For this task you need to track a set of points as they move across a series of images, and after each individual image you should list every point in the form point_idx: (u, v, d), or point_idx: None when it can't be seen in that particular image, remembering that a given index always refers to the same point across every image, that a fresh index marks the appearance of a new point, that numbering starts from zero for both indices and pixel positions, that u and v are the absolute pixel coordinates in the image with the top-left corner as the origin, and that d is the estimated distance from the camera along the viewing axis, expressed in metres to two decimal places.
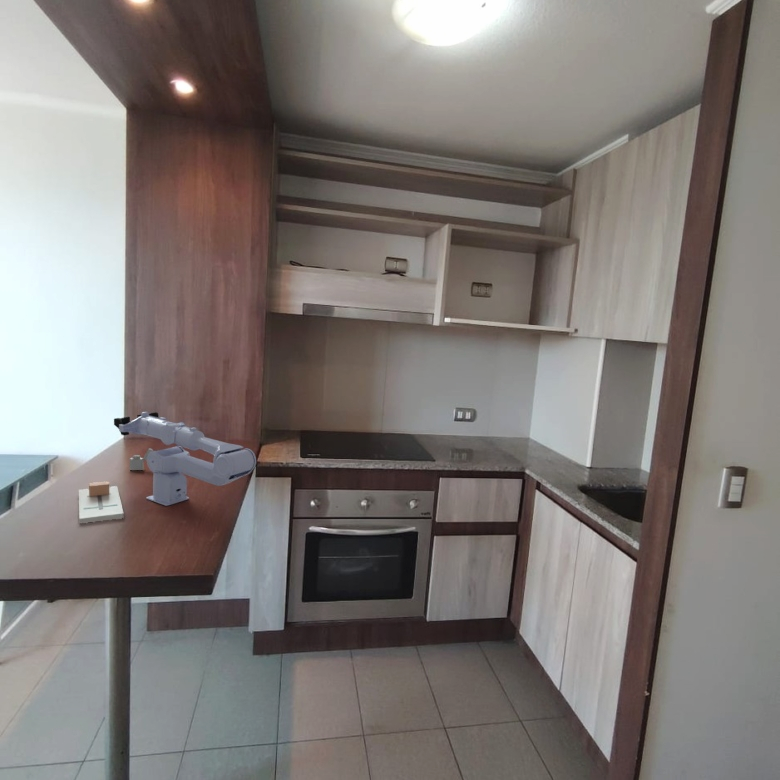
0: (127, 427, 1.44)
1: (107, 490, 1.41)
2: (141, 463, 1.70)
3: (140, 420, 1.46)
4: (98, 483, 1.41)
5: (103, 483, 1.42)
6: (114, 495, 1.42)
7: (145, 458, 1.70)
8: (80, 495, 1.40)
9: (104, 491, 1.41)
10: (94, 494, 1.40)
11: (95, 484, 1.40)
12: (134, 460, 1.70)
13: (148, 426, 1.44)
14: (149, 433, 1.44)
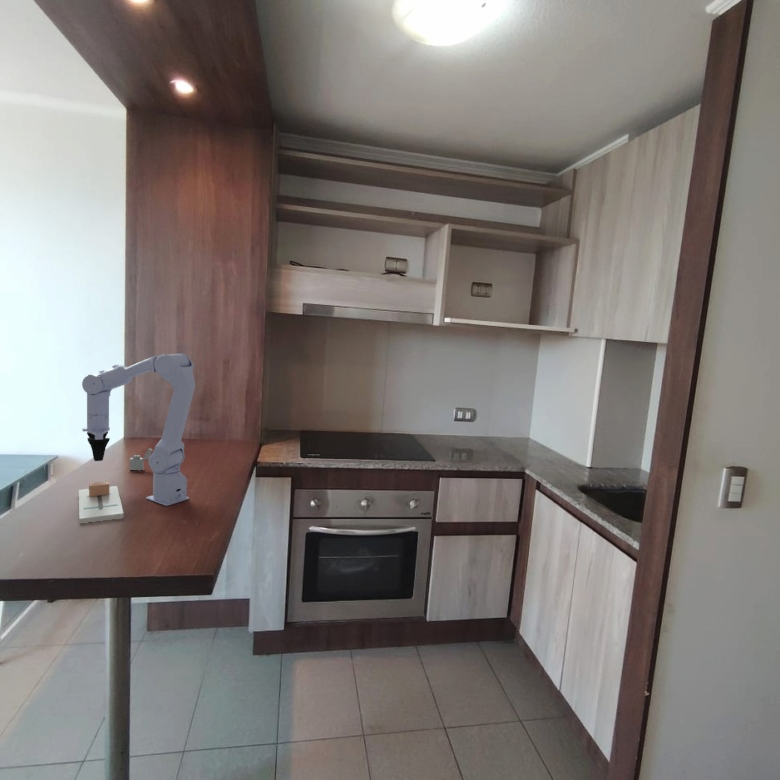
0: (98, 432, 1.42)
1: (107, 490, 1.41)
2: (141, 463, 1.70)
3: (91, 427, 1.44)
4: (98, 483, 1.41)
5: (103, 483, 1.42)
6: (114, 495, 1.42)
7: (145, 458, 1.70)
8: (80, 495, 1.40)
9: (104, 491, 1.41)
10: (94, 494, 1.40)
11: (95, 484, 1.40)
12: (134, 460, 1.70)
13: (88, 412, 1.44)
14: (95, 411, 1.44)
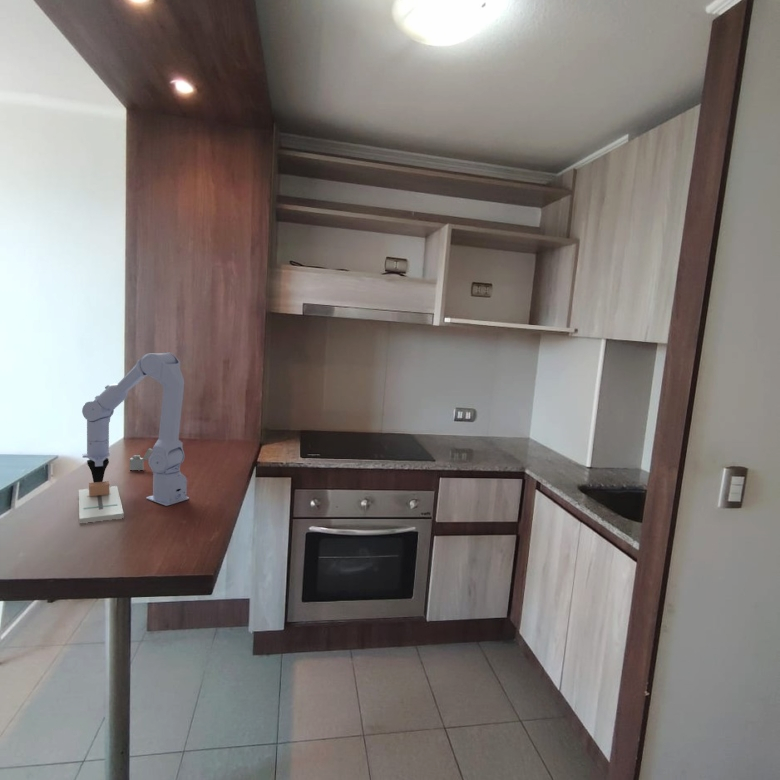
0: (98, 459, 1.43)
1: (107, 490, 1.41)
2: (141, 463, 1.70)
3: (90, 454, 1.45)
4: (98, 483, 1.41)
5: (103, 483, 1.42)
6: (114, 495, 1.42)
7: (145, 458, 1.70)
8: (80, 495, 1.40)
9: (104, 491, 1.41)
10: (94, 494, 1.40)
11: (95, 484, 1.40)
12: (134, 460, 1.70)
13: (88, 438, 1.45)
14: (95, 438, 1.45)
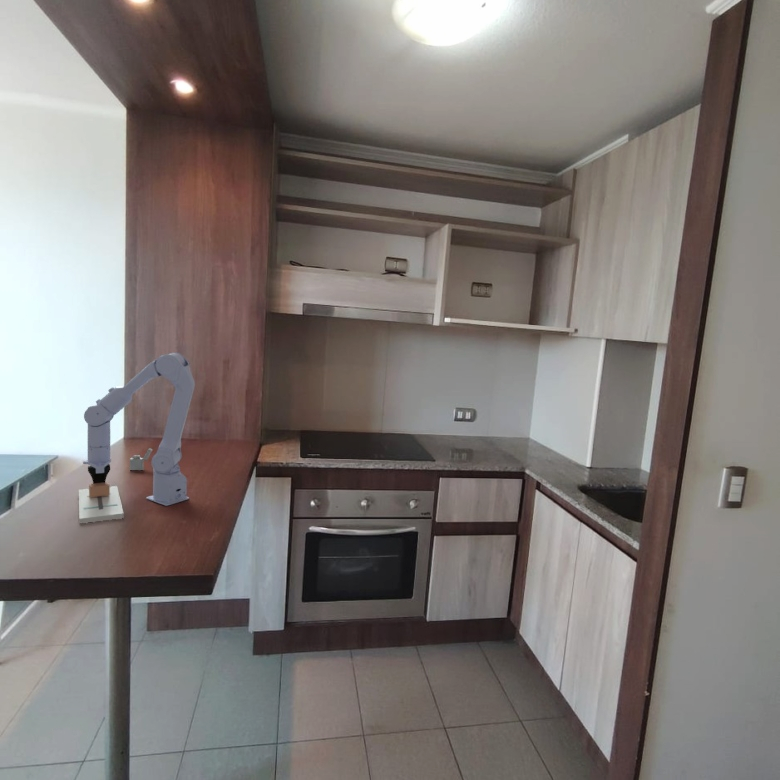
0: (99, 465, 1.37)
1: (107, 491, 1.40)
2: (141, 463, 1.70)
3: (91, 460, 1.39)
4: (98, 484, 1.40)
5: (103, 484, 1.41)
6: (114, 495, 1.42)
7: (145, 458, 1.70)
8: (80, 495, 1.40)
9: (105, 492, 1.40)
10: (94, 495, 1.39)
11: (95, 485, 1.39)
12: (134, 460, 1.70)
13: (91, 444, 1.39)
14: (100, 443, 1.39)
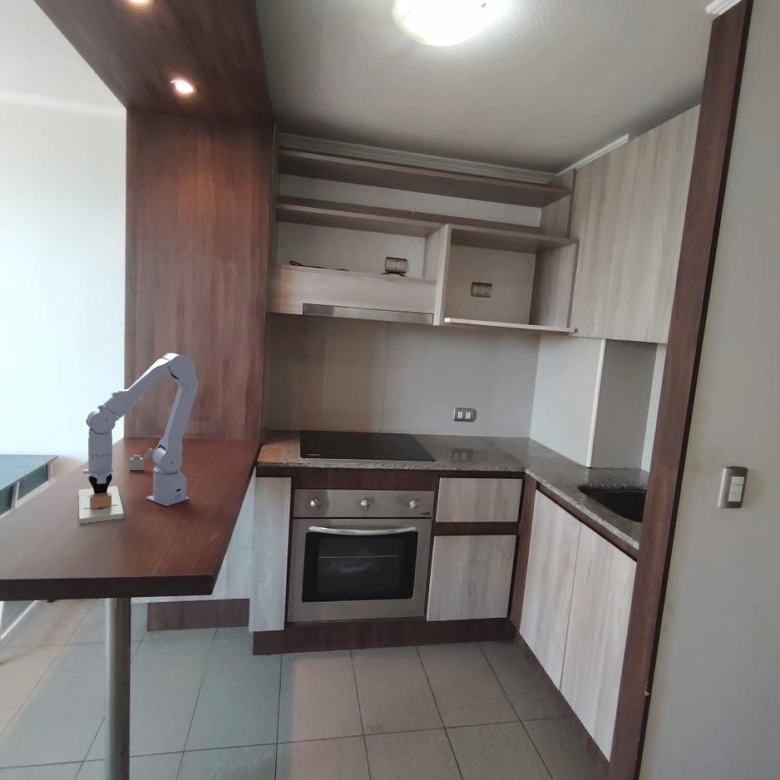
0: (100, 475, 1.29)
1: (109, 502, 1.33)
2: (141, 463, 1.70)
3: (92, 469, 1.31)
4: (100, 494, 1.33)
5: (105, 494, 1.33)
6: (114, 495, 1.42)
7: (145, 458, 1.70)
8: (80, 495, 1.40)
9: (106, 503, 1.32)
10: (95, 506, 1.31)
11: (96, 495, 1.32)
12: (134, 460, 1.70)
13: (98, 453, 1.31)
14: (107, 451, 1.32)
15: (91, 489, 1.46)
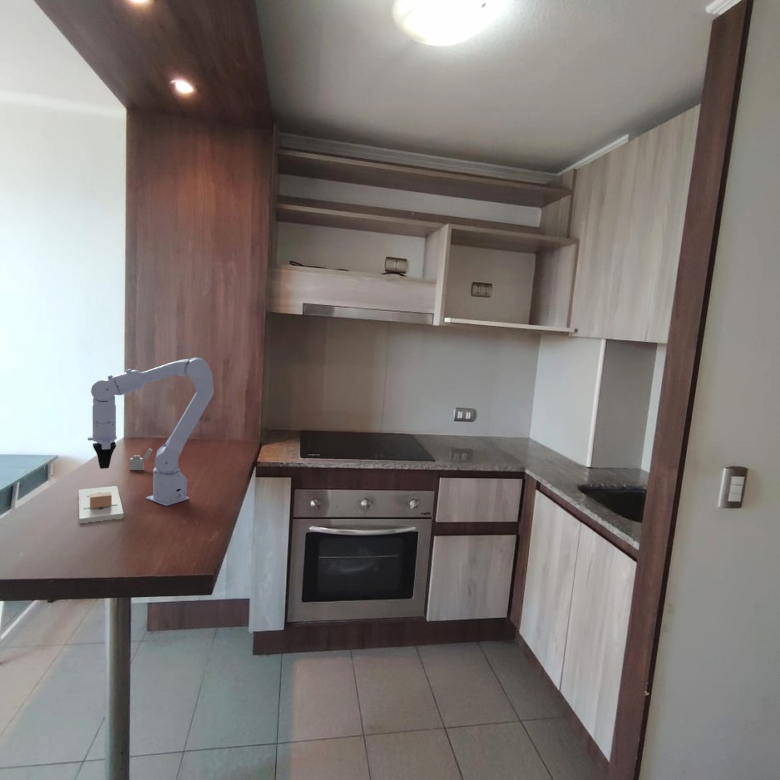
0: (105, 441, 1.33)
1: (109, 502, 1.33)
2: (141, 463, 1.70)
3: (97, 436, 1.35)
4: (100, 494, 1.33)
5: (105, 494, 1.33)
6: (114, 495, 1.42)
7: (145, 458, 1.70)
8: (80, 495, 1.40)
9: (106, 502, 1.33)
10: (95, 506, 1.31)
11: (96, 495, 1.32)
12: (134, 460, 1.70)
13: (99, 420, 1.34)
14: (108, 419, 1.35)
15: (91, 489, 1.46)
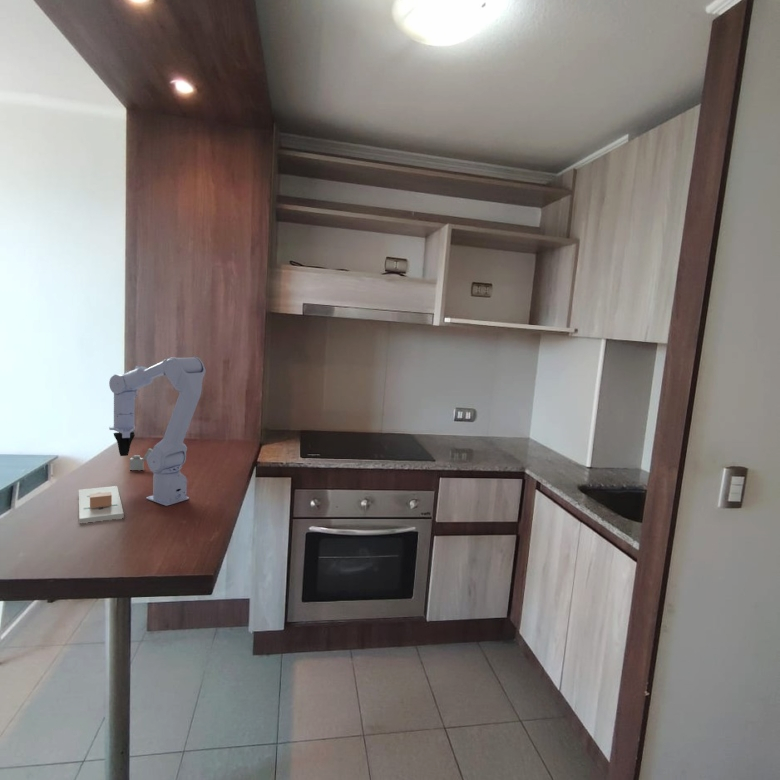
0: (125, 431, 1.46)
1: (109, 502, 1.33)
2: (141, 463, 1.70)
3: (117, 426, 1.48)
4: (100, 494, 1.33)
5: (105, 494, 1.33)
6: (114, 495, 1.42)
7: (145, 458, 1.70)
8: (80, 495, 1.40)
9: (106, 502, 1.33)
10: (95, 506, 1.31)
11: (96, 495, 1.32)
12: (134, 460, 1.70)
13: (114, 411, 1.48)
14: (119, 410, 1.48)
15: (91, 489, 1.46)
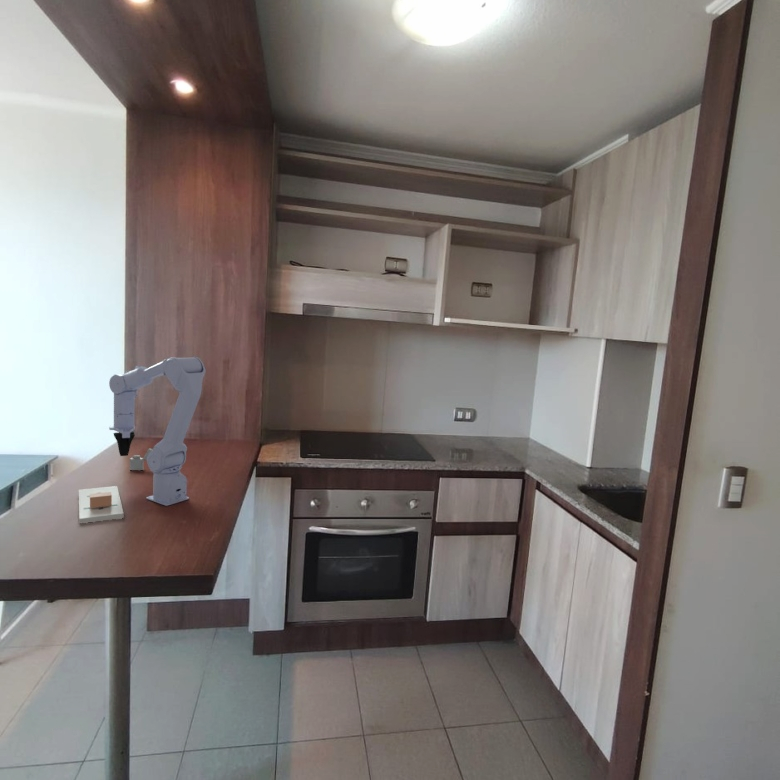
0: (125, 431, 1.46)
1: (109, 502, 1.33)
2: (141, 463, 1.70)
3: (117, 426, 1.48)
4: (100, 494, 1.33)
5: (105, 494, 1.33)
6: (114, 495, 1.42)
7: (145, 458, 1.70)
8: (80, 495, 1.40)
9: (106, 502, 1.33)
10: (95, 506, 1.31)
11: (96, 495, 1.32)
12: (134, 460, 1.70)
13: (114, 411, 1.48)
14: (119, 410, 1.48)
15: (91, 489, 1.46)
